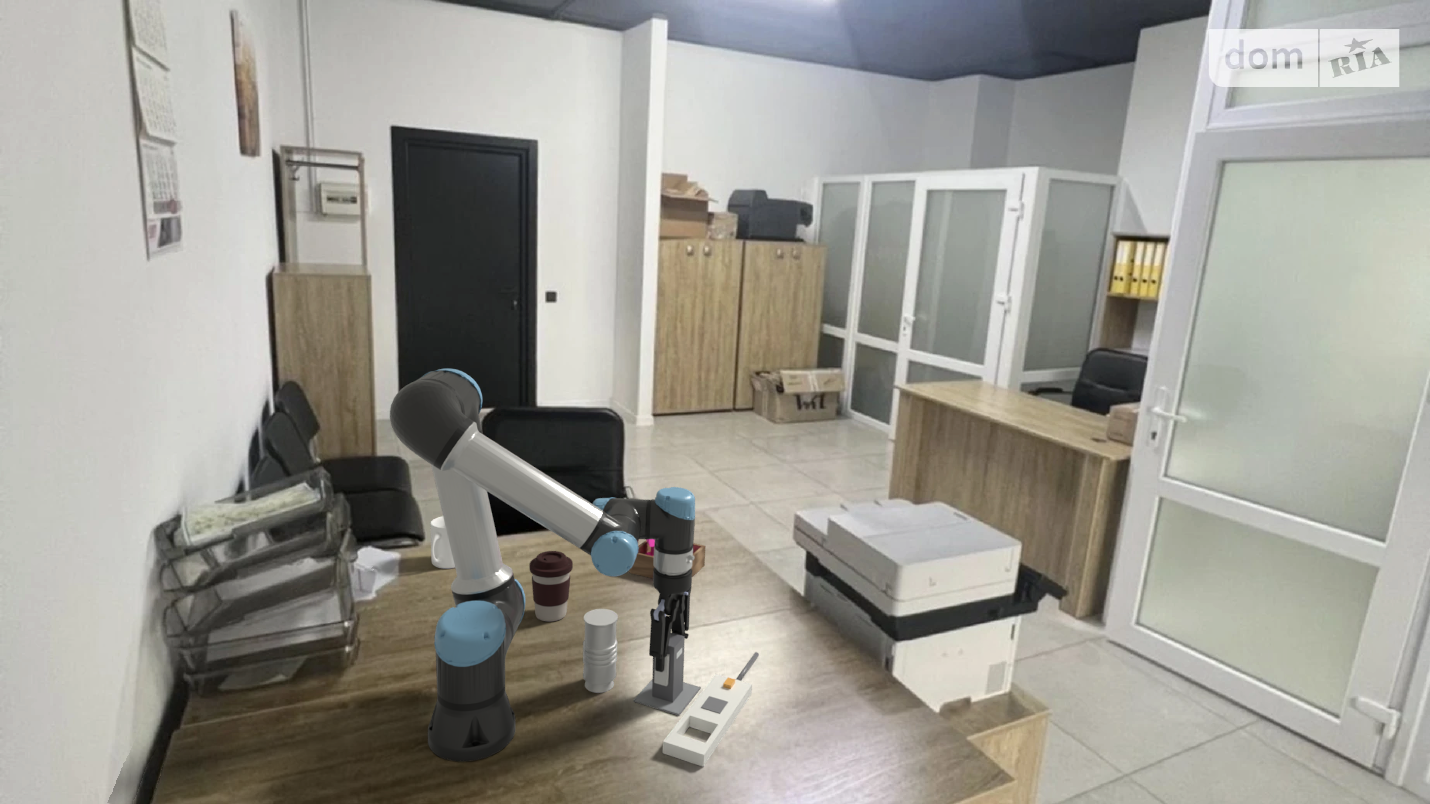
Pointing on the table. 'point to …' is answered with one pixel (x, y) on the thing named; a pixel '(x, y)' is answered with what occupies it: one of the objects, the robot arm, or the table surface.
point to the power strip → (709, 717)
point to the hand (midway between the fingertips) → (668, 675)
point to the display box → (645, 562)
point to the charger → (672, 670)
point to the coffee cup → (551, 584)
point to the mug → (440, 545)
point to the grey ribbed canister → (600, 650)
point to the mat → (667, 706)
